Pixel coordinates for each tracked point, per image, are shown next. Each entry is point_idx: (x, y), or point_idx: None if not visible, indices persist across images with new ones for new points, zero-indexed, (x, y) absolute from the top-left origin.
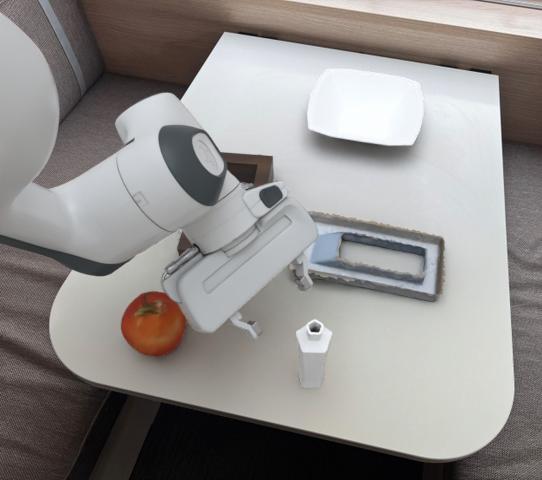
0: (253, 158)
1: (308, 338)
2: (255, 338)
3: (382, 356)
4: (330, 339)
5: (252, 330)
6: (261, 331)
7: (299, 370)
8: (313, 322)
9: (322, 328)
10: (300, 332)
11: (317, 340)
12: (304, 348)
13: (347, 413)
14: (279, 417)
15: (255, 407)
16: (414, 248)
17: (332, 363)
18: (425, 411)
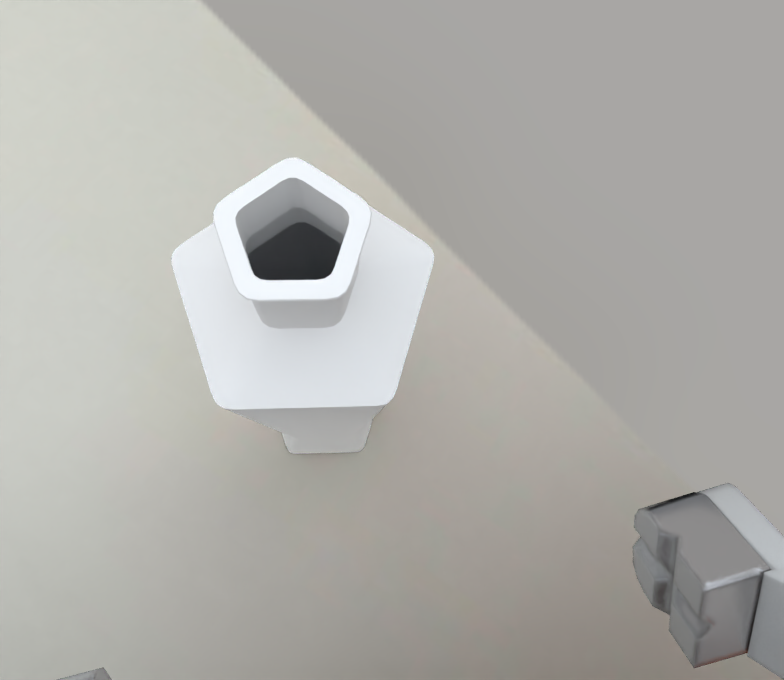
0: None
1: (356, 277)
2: (722, 486)
3: (14, 308)
4: (214, 226)
5: (756, 537)
6: (662, 508)
7: (357, 443)
8: (271, 286)
9: (245, 185)
10: (369, 370)
11: (312, 221)
12: (412, 256)
13: None
14: (521, 335)
15: (583, 421)
16: None
17: (212, 402)
18: (50, 57)
